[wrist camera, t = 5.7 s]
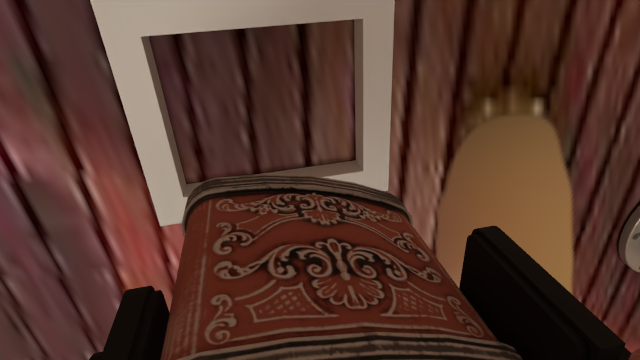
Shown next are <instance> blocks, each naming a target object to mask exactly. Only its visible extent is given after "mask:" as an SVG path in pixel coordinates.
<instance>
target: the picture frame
mask: <svg viewBox="0 0 640 360" xmlns="http://www.w3.org/2000/svg"><path fill="white" fill-rule="evenodd" d="M90 1H91V4H92V7H93V10H94V14H95V17H96V20H97V23H98V27H99V30H100V33H101V36H102V39H103V43H104V46H105V49H106V52H107V56H108V59H109V62H110V65H111V68H112V72H113V75H114V78H115V81H116V85H117V88H118V91H119V94H120V97H121V101H122V104H123V107H124V110H125V114H126V117H127V120H128V123H129V126H130V130H131V133H132V136H133V139H134V143H135V146H136V149H137V152H138V155H139V159H140V162H141V165H142V168H143V172H144V175H145V178H146V181H147V184H148V188H149V191H150V194H151V197H152V201H153V204H154V207H155V210H156V213H157V217H158V220H159V223H160V226H164V225H171V224H177V223H182V220H183V215H184V211H185V207H186V203H187V199H188V197H189V195H190V194H191V192H192V191H193V190H194V188H195V187H197V186H198V185H200V184H201V183H202V182H199V183H192V184H186V181H185V177H184V173H183V169H182V166H181V162H180V158H179V154H178V150H177V146H176V142H175V138H174V134H173V130H172V126H171V122H170V118H169V115H168V111H167V107H166V103H165V99H164V95H163V91H162V87H161V83H160V79H159V75H158V71H157V67H156V64H155V60H154V56H153V52H152V48H151V44H150V40H149V36H154V35H166V34H179V33H191V32H204V31H216V30H228V29H241V28H253V27H265V26H278V25H290V24H302V23H315V22H327V21H339V20H352V19H354V56H355V138H356V160H354V161H347V162H340V163H333V164H326V165H319V166H312V167H305V168H298V169H291V170H284V171H277V172H270V173H262V174H278V175H311V176H317V177H323V178H329V179H335V180H341V181H347V182H354V183H357V184H360V185H364V186H367V187H371V188H374V189H378V190H381V191H388V180H389V150H390V121H391V92H392V62H393V33H394V3H395V0H90ZM255 175H258V174H255Z"/></svg>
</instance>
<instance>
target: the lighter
mask: <svg viewBox="0 0 640 360" xmlns="http://www.w3.org/2000/svg"><path fill="white" fill-rule="evenodd" d="M182 230H183V236H184V238H185V239H184V244H183V249H182V254H181V259H180V264H179V269H178V274H177V279H176V284H175V289H174V294H173V299H172V304H171V309H170V314H169V319H168V324H167V329H166V334H165V339H164V344H163V349H162V355H161V360H523V359H522V357H521V356H520V355H519V354H518V352H517V351H516V350H515V348H514V347H512V346H509V345H507V344H504V343H500V342H499V341H498V340H497V339H496V337H495V336H494V335H493V333H492V332H491V331H490V329H489V328H488V327H487V325H486V324H485V323H484V321H483V320H482V319H481V317H480V316H479V315H478V313H477V312H476V311H475V309H474V308H473V307H472V305H471V304H470V303H469V301H468V300H467V299H466V297H465V296H464V295H463V293H462V292H461V291H460V289H459V288H458V287H457V286H456V284H455V282H454V281H453V280H452V278H450V276H449V275H448V273H447V272H446V270H445V269H444V268H443V266H442V265H441V264H440V262H439V261H438V260H437V258H436V257H435V256H434V254H433V253H432V252H431V250H430V249H429V248H428V246H427V245H426V244H425V242H424V241H423V240H422V238H421V237H420V236H419V234H418V233H417V232H416V230H415V229H414V227H413V222H412V217H411V215H410V214H409V212H408V211H407V209H406V208H405V207H404V205H403V204H402V203H401V201H400V200H399V199H398V198H397V197H396V196H394V195H392V194H391V193H388V192H385V191H381V190H378V189H374V188H371V187H367V186H364V185H360V184H357V183H354V182H347V181H341V180H335V179H329V178H323V177H317V176H311V175H278V174H258V175H245V176H232V177H219V178H214V179H210V180H206V181H204V182H202V183H201V184H200V185H198V186H197V187H195V188H194V190H193V191H192V192H191V194H190V195H189V197H188V199H187V203H186V207H185V211H184V215H183V220H182Z"/></svg>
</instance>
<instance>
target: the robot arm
mask: <svg viewBox="0 0 640 360" xmlns="http://www.w3.org/2000/svg"><path fill="white" fill-rule="evenodd" d="M619 255H620V258H621V259H622V261H623V262H624V263H625V264H626V265H627V266H629V267H630V268H631V269H633V270H635V271H637V272H640V205H639V206H638V207H637V208H636V210H635V211H634V212H633V213H632V215H631V216H630V218H629V219H628V221H627V223H626V224H625V226H624V229H623V231H622V233H621V236H620V240H619ZM459 289H460V291H461V292H462V293H463V295H464V296H465V297H466V299H467V300H468V301H469V303H470V304H471V305H472V307H473V308H474V309H475V311H476V312H477V313H478V315H479V316H480V317H481V319H482V320H483V321H484V323H485V324H486V325H487V327H488V328H489V329H490V331H491V332H492V333H493V335H494V336H495V337H496V339H497V340H498V341H499V342H500V343H504V344H507V345H509V346H512V347H514V348H515V350H516V351H517V352H518V354H519V355H520V356H521V357H522V359H523V360H640V349H638V350H636V351H634V352H632V353H630V352H629V351H628V350H627V349H626V348H625V347H624V346H625V344H626V343H624V342H623V341H622V340H621V339H620V338H619V337H618V336H617V335H616V334H615V333H613V332H612V331H611V330H610V329H609V328H608V327H607V326H606V325H605V324H604V323H603V322H601V321H600V320H599V319H598V318H597V317H596V316H595V315H594V314H593V313H592V312H591V311H589V310H588V309H587V308H586V307H585V306H584V305H583V304H582V303H581V302H580V301H578V300H577V299H576V298H575V297H574V296H573V295H572V294H571V293H570V292H569V291H567V290H566V289H565V288H564V287H563V286H562V285H561V284H560V283H559V282H557V280H556V279H554V278H553V277H552V276H551V275H550V274H549V273H548V272H547V271H546V270H544V269H543V268H542V267H541V266H540V265H539V264H538V263H537V262H536V261H535V260H533V259H532V258H531V257H530V256H529V255H528V254H527V253H526V252H525V251H524V250H523V249H522V248H521V247H519V246H518V245H517V244H516V243H515V242H514V241H513V240H512V239H511V238H509V237H508V236H507V235H506V234H505V233H504V232H503V231H502V230H501V229H500V228H498V227H497V226H489V227H483V228H478V229H474V230H473V232H472V234H471V235H469V236H468V238H467V242H466V249H465V256H464V262H463V268H462V274H461V281H460V287H459ZM169 314H170V313H169V310H168V307H167V304H166V301H165V298H164V295H163V293H162V291H161V290H158V291H155V290H154V288H153V287H152V286H147V287H141V288H135V289H130V290H126V291H125V293H124V295H123V298H122V300H121V303H120V306H119V309H118V311H117V314H116V317H115V320H114V322H113V325H112V328H111V331H110V333H109V336H108V339H107V342H106V344H105V347H104V350H103V352H98V353H95V354H93V355H92V356H91V357H90V359H89V360H161V355H162V349H163V344H164V339H165V334H166V329H167V324H168V319H169Z"/></svg>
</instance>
